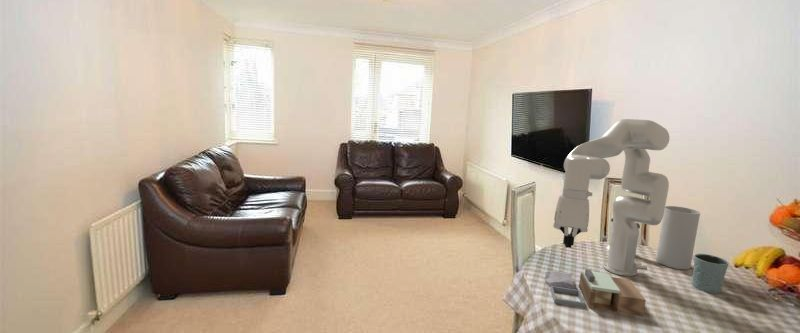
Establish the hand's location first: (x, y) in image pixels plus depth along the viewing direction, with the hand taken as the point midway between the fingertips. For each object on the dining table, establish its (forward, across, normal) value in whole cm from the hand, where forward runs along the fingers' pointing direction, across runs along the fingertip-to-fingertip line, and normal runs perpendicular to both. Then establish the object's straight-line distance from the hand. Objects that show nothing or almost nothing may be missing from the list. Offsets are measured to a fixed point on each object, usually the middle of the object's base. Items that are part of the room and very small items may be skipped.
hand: (567, 246), depth 128 cm
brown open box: (+18, -16, -2) cm, 24 cm away
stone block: (+19, -1, -10) cm, 22 cm away
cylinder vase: (+18, -54, -51) cm, 76 cm away
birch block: (+18, -12, -1) cm, 22 cm away
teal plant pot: (+18, -56, -28) cm, 65 cm away
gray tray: (+19, -2, +2) cm, 19 cm away
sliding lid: (+12, -12, -2) cm, 17 cm away
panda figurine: (+18, -36, -61) cm, 73 cm away
